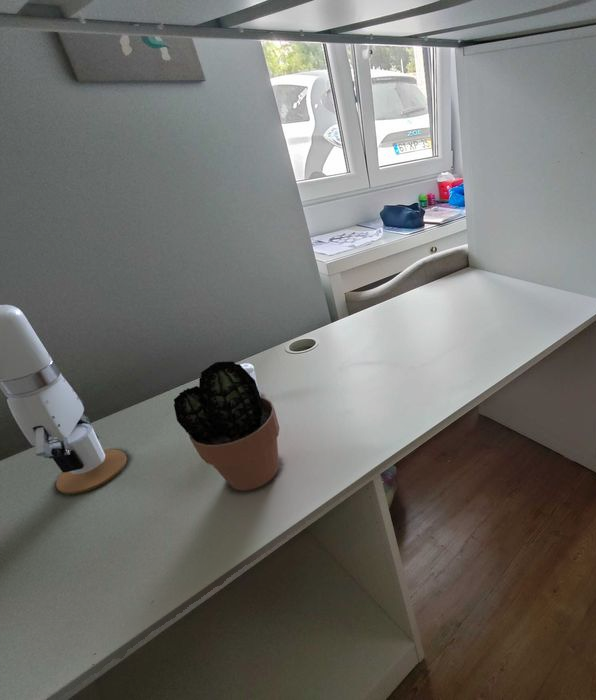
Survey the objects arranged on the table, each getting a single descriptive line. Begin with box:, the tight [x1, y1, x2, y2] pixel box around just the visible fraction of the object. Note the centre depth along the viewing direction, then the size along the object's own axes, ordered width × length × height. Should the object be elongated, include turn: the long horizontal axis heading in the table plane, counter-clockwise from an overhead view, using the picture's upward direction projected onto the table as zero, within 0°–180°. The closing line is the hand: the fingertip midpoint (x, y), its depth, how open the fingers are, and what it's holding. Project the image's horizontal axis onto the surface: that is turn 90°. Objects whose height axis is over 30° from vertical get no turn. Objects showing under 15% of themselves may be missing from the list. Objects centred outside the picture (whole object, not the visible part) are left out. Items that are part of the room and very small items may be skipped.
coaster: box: [55, 449, 128, 495], centre depth 85 cm, size 11×11×1 cm
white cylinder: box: [50, 423, 105, 474], centre depth 83 cm, size 7×7×7 cm
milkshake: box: [240, 362, 262, 397], centre depth 101 cm, size 4×5×10 cm
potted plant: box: [173, 360, 280, 491], centre depth 77 cm, size 14×14×25 cm
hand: (81, 454), depth 83 cm, fingers closed on white cylinder, 6 cm apart
